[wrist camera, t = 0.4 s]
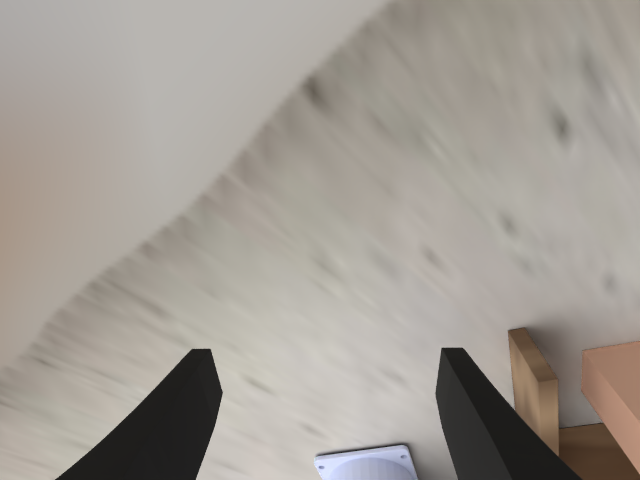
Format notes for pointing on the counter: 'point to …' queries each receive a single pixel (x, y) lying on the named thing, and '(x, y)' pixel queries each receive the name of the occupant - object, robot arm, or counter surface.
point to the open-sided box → (542, 417)
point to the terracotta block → (616, 392)
